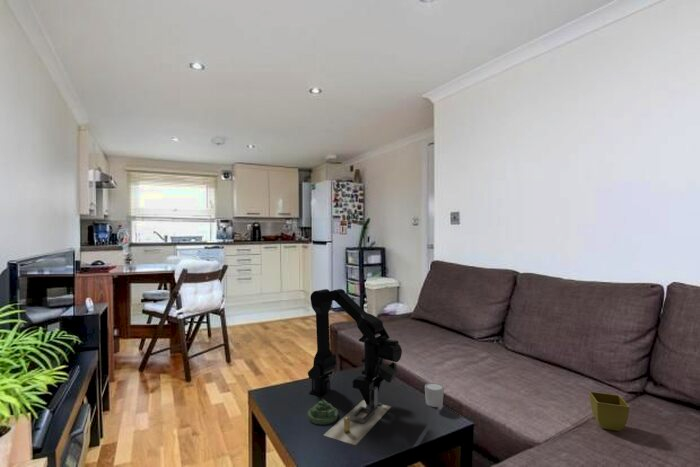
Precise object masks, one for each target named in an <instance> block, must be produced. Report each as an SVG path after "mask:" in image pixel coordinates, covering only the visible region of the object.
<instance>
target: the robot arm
mask: <svg viewBox="0 0 700 467" xmlns="http://www.w3.org/2000/svg"><path fill="white" fill-rule="evenodd" d="M333 301H334V302H335V303H336V304H337V305H338V306H340V307H341V309H342V310H344V312H345V313H347V314H348V315H349V316H350V318H352V320H354V321H355V323H356V325H357V329H358V330H359V331H360V333H361V334H362V336H361V337H360V338H359V339H358V342H362V343H363V358H362V359H361V363H363V370H361V375H359V376H357V377H356V378H355V379H353V380H352V388H354V389H358V390H359V392H360V394H361V396H362V398H363V400H365V402H366V404H367V405H369V404H370V399H371V391H372V389H373V388H375V386H376V387H378V395H379V394H380V389H381V386H382V383H383V381H384V380H385V382H387V383H392V381H393V380H395V378H396V375H397V374H398V369H397V363H398V362H399V361H400V360H401V357H402V353H403V350H402V347H401V345H400V344H399V341H398V340H397V339H396V340H394V339H390V336H389V334H388V332H387V331H386V328H385V327H384V323H383V321H382V320H381V319H380V318H378V317H377V316H375V315H374V314H371V313H368V312H367V311H365V310H364V309H363V308H362V307H361V306H360V305H359V304H358V303H357V302H356V301H354V299H353V298H351V297H350V296H349V295H348V294H347V293H346V291H345V290H344V289H343V288H338V289H334V290H330V289H327V288H323V289H320V290H314V291H312V293H311V294H310V303H311V308H312V310H313V311H314V313H315V323H316V324H315V326H316V353H315V356H314V358H313V366H312V367H311V368H310V370H308V371H307V376H308V379H310V380H311V390H309V392H308V393H309V394H311V395H316V396H320V397H324V396H326V395H327V394H328V393H330V392H331V391H332V388H331V379H330V375H333V372H334V370H335V369H336V365H337V354H336V353H335V354H333V352H332V351H331V344H330V343H331V340H330V339H331V338H330V337H331V336H330V335H331V334H330V318H329V316H330V315H329V312H330V310H331V307H332V305H333ZM384 360H386V361H390V362H391V363H390V364H388V363H384ZM363 375H364V376H363Z"/></svg>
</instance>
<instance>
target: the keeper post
mask: <svg viewBox="0 0 700 467" xmlns="http://www.w3.org/2000/svg"><path fill="white" fill-rule="evenodd" d="M344 433H346V434H349V433H350V418H349V417H346V418H345V419H344Z"/></svg>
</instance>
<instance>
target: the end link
mask: <svg viewBox="0 0 700 467" xmlns="http://www.w3.org/2000/svg"><path fill="white" fill-rule="evenodd" d="M378 402H379V394H378V387H376V386H375V388H373V389H372V391H371V399H370V404H369V405H367V404H366V407H362V406H361V407H360V408H358V409H357V410H356V411H355V412H354V413H353V414H352V415H351V416H350V421H353V422H357V423H360V424H365V423H366V422H367V421H368V420H369V419H370V418H371V417H372V416H373V415H374V414H375V409H376V408H377V407H378ZM361 412H365V413H368V414H367V415H366V416H365V417H364V418H359V417H357V416H358V415H359V414H360V413H361Z"/></svg>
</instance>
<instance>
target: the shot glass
mask: <svg viewBox="0 0 700 467" xmlns="http://www.w3.org/2000/svg"><path fill="white" fill-rule="evenodd" d="M444 390H445V386H444V385H442V384H440V383H436V382H428V383H426V384H425V385H424V394H425V404H426V405H428V406H429V407H432V408H433V407H434V408H436V410H437V411H438V410H441V409H443V402H444V393H445V392H444Z"/></svg>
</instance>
